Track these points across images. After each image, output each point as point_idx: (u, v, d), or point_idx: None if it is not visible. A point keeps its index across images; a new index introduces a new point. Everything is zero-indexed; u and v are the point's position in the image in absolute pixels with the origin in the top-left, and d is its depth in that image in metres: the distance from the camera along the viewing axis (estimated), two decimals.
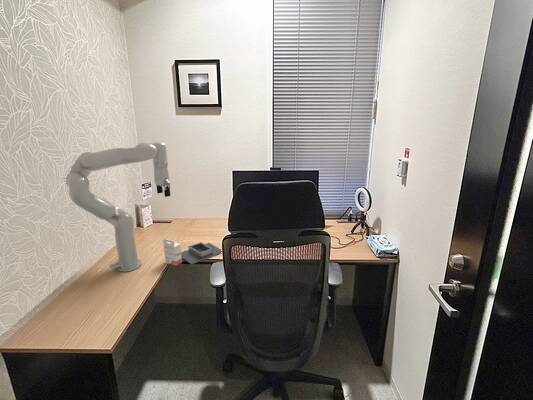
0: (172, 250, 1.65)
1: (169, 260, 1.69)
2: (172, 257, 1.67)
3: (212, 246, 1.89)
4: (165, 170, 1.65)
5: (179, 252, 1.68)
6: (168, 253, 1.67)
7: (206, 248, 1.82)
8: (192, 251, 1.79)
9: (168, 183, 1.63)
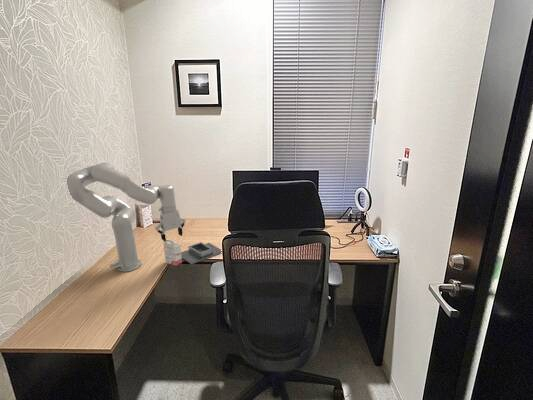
0: (172, 250, 1.65)
1: (169, 260, 1.69)
2: (172, 257, 1.67)
3: (212, 246, 1.89)
4: None
5: (179, 252, 1.68)
6: (168, 253, 1.67)
7: (206, 248, 1.82)
8: (192, 251, 1.79)
9: (185, 220, 1.70)
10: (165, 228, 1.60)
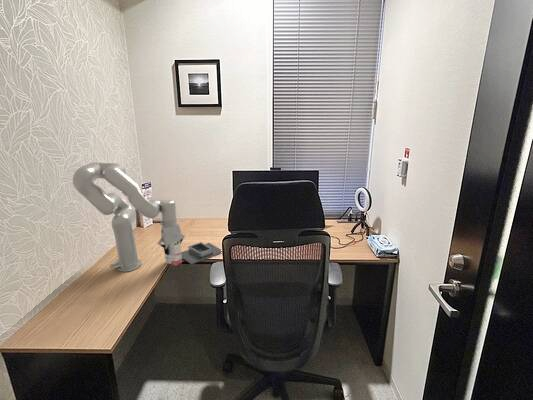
0: (172, 250, 1.65)
1: (169, 260, 1.69)
2: (172, 257, 1.67)
3: (212, 246, 1.89)
4: None
5: (179, 252, 1.68)
6: None
7: (206, 248, 1.82)
8: (192, 251, 1.79)
9: (184, 236, 1.72)
10: (166, 242, 1.62)
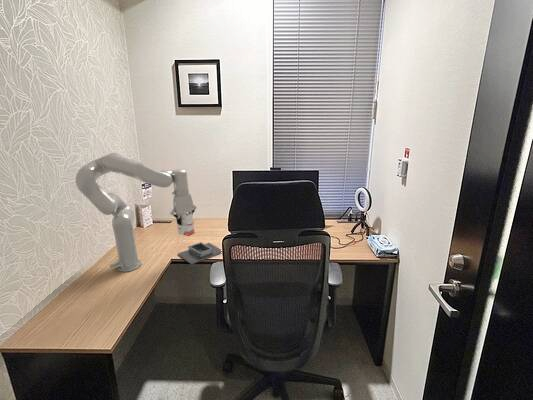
0: (184, 220, 1.66)
1: (182, 231, 1.69)
2: (184, 227, 1.67)
3: (212, 246, 1.89)
4: None
5: (191, 222, 1.68)
6: None
7: (206, 248, 1.82)
8: (192, 251, 1.79)
9: (196, 207, 1.72)
10: (178, 211, 1.63)
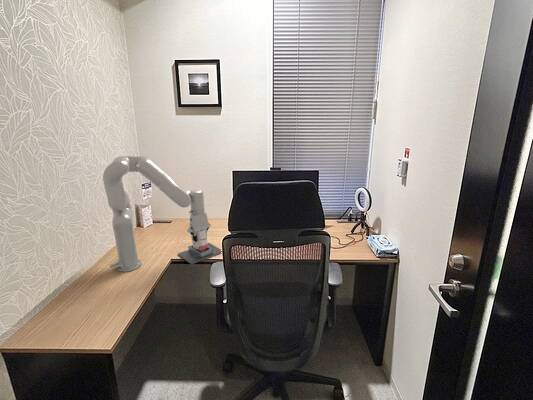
0: (198, 236, 1.75)
1: (197, 246, 1.78)
2: (199, 242, 1.77)
3: (212, 246, 1.89)
4: None
5: (205, 237, 1.77)
6: None
7: None
8: (192, 251, 1.79)
9: (210, 224, 1.81)
10: (194, 229, 1.72)
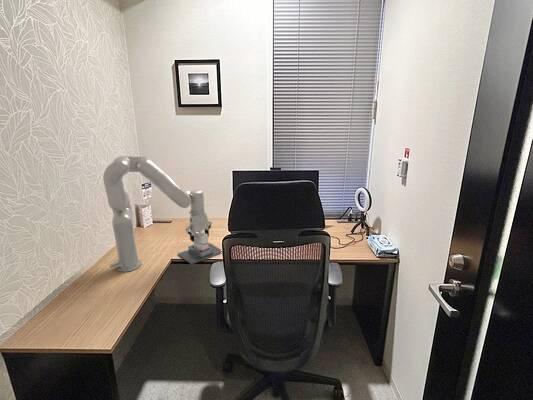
0: (200, 240, 1.76)
1: (197, 249, 1.79)
2: (199, 246, 1.77)
3: (212, 246, 1.89)
4: None
5: (206, 242, 1.78)
6: (196, 242, 1.78)
7: None
8: (192, 251, 1.79)
9: (211, 222, 1.82)
10: (194, 230, 1.72)
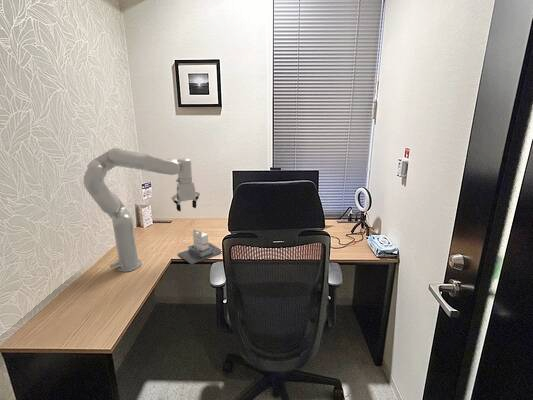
0: (200, 240, 1.76)
1: (197, 249, 1.79)
2: (199, 246, 1.77)
3: (212, 246, 1.89)
4: None
5: (206, 242, 1.78)
6: (196, 242, 1.78)
7: None
8: (192, 251, 1.79)
9: (199, 193, 1.79)
10: (181, 198, 1.69)
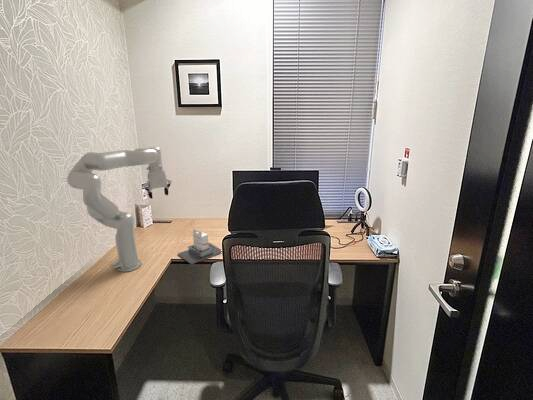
0: (200, 240, 1.76)
1: (197, 249, 1.79)
2: (199, 246, 1.77)
3: (212, 246, 1.89)
4: None
5: (206, 242, 1.78)
6: (196, 242, 1.78)
7: None
8: (192, 251, 1.79)
9: (171, 181, 1.84)
10: (152, 186, 1.74)
